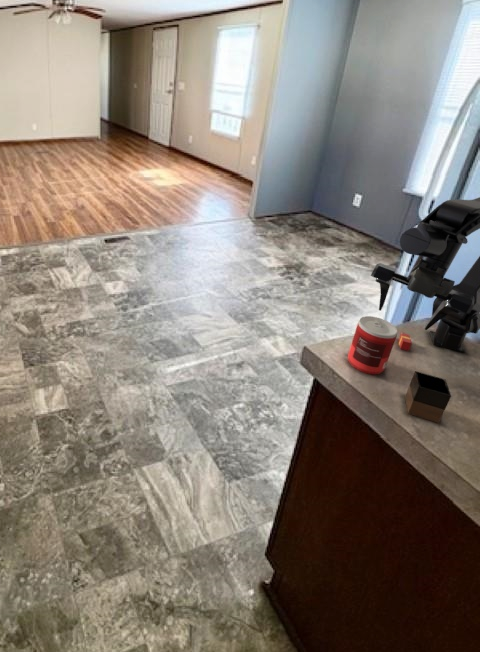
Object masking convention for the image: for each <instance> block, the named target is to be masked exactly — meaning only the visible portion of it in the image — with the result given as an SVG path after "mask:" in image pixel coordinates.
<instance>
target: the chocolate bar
mask: <svg viewBox="0 0 480 652" xmlns="http://www.w3.org/2000/svg"><path fill="white" fill-rule="evenodd" d="M412 344H413V343H412V338H411V334H408V333H404V332H401V333H400V335H399V338H398V345H399V349H400V350H404V351H406V352H410V349H411V346H412Z"/></svg>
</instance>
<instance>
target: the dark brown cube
mask: <svg viewBox="0 0 480 652" xmlns="http://www.w3.org/2000/svg"><path fill="white" fill-rule="evenodd" d="M404 400H405V405H406V410H407V415H411V416H415V417H418V418H421V419H424V420H428V421H431V422H434V423H438V424H439V423H440V421H441V419H442V418H443V415H444V413H445V410H443V409H440V408H437V407H433V406H430V405H427V404H423V403H420V402H417V401H413V397H412V393H411V388H410V384H409V386H408V388H407V390H406V393H405V395H404Z"/></svg>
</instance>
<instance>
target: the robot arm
mask: <svg viewBox="0 0 480 652" xmlns="http://www.w3.org/2000/svg"><path fill="white" fill-rule="evenodd" d="M478 230H480V196H479V197H477V198H474V199H459V198H455V199H447V200H445V201H443V202H442V203H440V204H439V205H437V206H436V207H435V208H434V209H433V210H432V211H431V212H430V213H428V215H426V216H425V217H424V218H422V220H421V221H419V223H418V224H417V226H416V227H411V228H408V229H406V230H405V231H404V232H402V233H401V235H400V238H399V246H400V248H401V250H402V251H403V252H405V253H406V254H409V255H413V256H417V258H416V260H415V262H414V264H413V265H412V268H411V270H410V272H409V273H408V275H407V276H406V275H403V274H401V273H397V272H396V270H397V268H394V267H392V266H389V265H386V264H384V263H381V262H379V263H377V264H375V266H374V268H373V270H372V272H371V274H370V276H371V277H373V278H375V282H376V283H377V284H379V289H380V296H379V298H380V299H379V304H378V305H379V306H378V311H382V309H383V307H384V305H385V302H386V299H387V297H388V293H389V290H390V287H391V284H392V282H393V281H394V282H396V283H399V284H401V285H404V286H406V289H408V291H411V292H413V293H417V294H420V295H422V296H424V297H425V298H427V299H433V298H434V297H436V298H435V299H434V300H433V303H432V311H431V317H430V318H429V320H428V321H427V322H426V324H425V326H424V331H428V330H429V329H430V328H431V327H433V326H434V325H436V323H438V324H437V327H436V329H435V331H433V330H430V331H429V336H430V338H431V342H432V345H433V346H435V347H440V348H444V349H448V350H451V351H455V352H459V353H463V354H465V353H466V348H465V346H464V343H463V342H464V341H465V339H466V336H467V334H470V333H471V334H478V333H479V331H480V255H479V256H478V258H477V259H476V260H475V262H474V263H473V264H472V266H471V267H470V268H469V270H468V271H467V272H466V274H465V275H464V277H463V278H462V280H461V281H460V282H459V283H457V284H456V283H455V281H454V280H452V279H449V278H447V277H445V275H446V274H447V272H448V270H449V269H450V267H451V265H452V263H453V262H454V259H456V256H457V254H458V252H459V251H460V249H461V247H462V245H466V244H468V238H467V237H468V236H470V235H471V234H473V233H474V232H477V231H478Z"/></svg>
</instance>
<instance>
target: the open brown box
mask: <svg viewBox="0 0 480 652" xmlns="http://www.w3.org/2000/svg"><path fill="white" fill-rule="evenodd" d="M409 385H410V388H411V393H412V397H413V401H417V402H420V403H423V404H427V405H430V406H433V407H437V408H440V409H443V410H444V411H446V408H447V406H448V404H449V402H450V399H451V397H452V394H451V391H450V388H449V384H448V382H447V380H446V379H445V378H441V377H438V376H435V375H430V374H427V373H424V372H419V371H416V370H415V371H414V373H413V375H412V377H411V381H410V383H409Z"/></svg>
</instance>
